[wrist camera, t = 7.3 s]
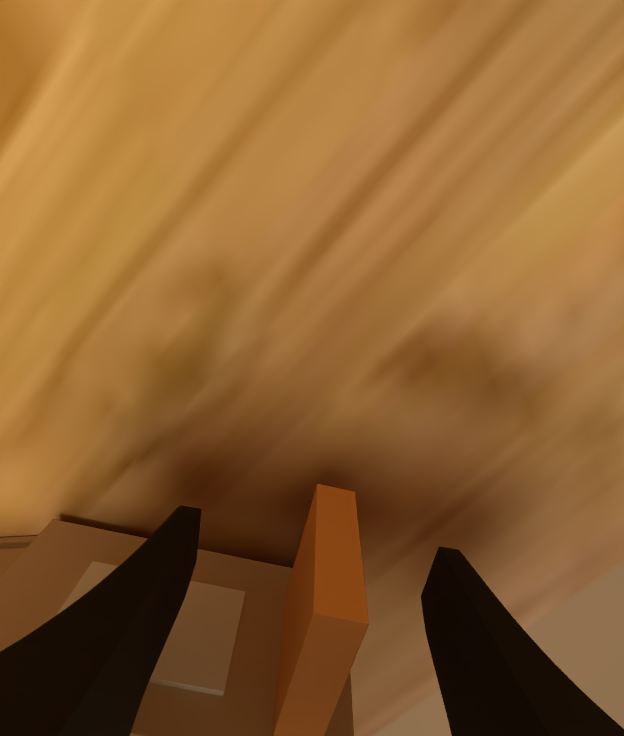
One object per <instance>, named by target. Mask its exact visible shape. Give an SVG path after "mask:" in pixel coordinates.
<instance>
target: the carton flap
mask: <svg viewBox="0 0 624 736" xmlns="http://www.w3.org/2000/svg"><path fill="white" fill-rule="evenodd" d="M146 540H147V538H142V537H137V536H133V535H128V534H123V533H118V532H113V531H108V530H103V529H98V528H94V527H89V526H84V525H79V524H74V523H69V522H64V521H59V520H54V519H53V520H52V521H51V522H50V523H49V524H48V525H47V526H46V527H45V529H44V530H43V531H42V532H41V533H40V534H39V535H38V536H37V538H36V539H35V540H34V541H33V542H32V543H31V544H30V545H29V547H28V548H27V549H26V550H25V551H24V552H23V553H22V554H21V555H20V557H19V558H18V559H17V560H16V561H15V562H14V563H13V564H12V566H11V567H10V568H9V569H8V570H7V571H6V572H5V573H4V574H3V576H2V577H1V578H0V651H2V650H4V649H5V648H7V647H9V646H10V645H12V644H14V643H15V642H17V641H19V640H20V639H22V638H23V637H25V636H26V635H28V634H29V633H31V632H32V631H34V630H35V629H37V628H38V627H40V626H41V625H43V624H44V623H46V622H47V621H49V620H50V619H51V618H53V617H54V616H56V615H57V614H59V613H60V612H62V611H63V610H64V609H66V608H67V607H69V606H70V605H71V604H73V603H74V602H75V601H77V600H78V599H79V598H81V597H82V596H83V595H84V594H86V593H87V592H88V591H90V590H91V589H92V588H93V587H95V586H96V585H97V584H98V583H99V582H101V581H102V580H103V579H104V578H105V577H107V576H108V575H109V574H110V573H111V572H112V571H113V570H115V569H116V568H117V567H118V566H119V565H120V564H122V563H123V562H124V561H125V560H126V559H127V558H128V557H129V556H130V555H132V554H133V553H134V552H135V551H136V550H137V549H138V548H139V547H140V546H141V545H142V544H143V543H144V542H145V541H146ZM368 625H369V621H368V612H367V602H366V593H365V583H364V574H363V564H362V555H361V545H360V536H359V526H358V517H357V507H356V498H355V492H354V491H349V490H345V489H340V488H335V487H331V486H326V485H321V484H317V487H316V490H315V494H314V497H313V501H312V504H311V507H310V511H309V514H308V518H307V521H306V525H305V528H304V532H303V535H302V539H301V542H300V546H299V549H298V552H297V556H296V559H295V563H294V566H293V568H289V567H284V566H279V565H274V564H269V563H264V562H259V561H255V560H250V559H245V558H240V557H235V556H230V555H225V554H220V553H216V552H211V551H206V550H201V549H198V551H197V561H196V565H195V568H194V571H193V574H192V578H191V581H190V584H189V587H188V590H187V593H186V596H185V599H184V601H183V604H182V606H181V608H180V611H179V613H178V615H177V618H176V620H175V622H174V625H173V627H172V629H171V632H170V634H169V636H168V638H167V641H166V643H165V645H164V648H163V650H162V652H161V655H160V657H159V659H158V662H157V664H156V666H155V668H154V671H153V673H152V675H151V678H150V680H149V683H148V685H147V688H146V690H145V693H144V695H143V698H142V701H141V704H140V707H139V710H138V713H137V716H136V718H135V721H134V724H133V727H132V730H131V733H130V736H354V731H353V713H352V694H351V676H350V670H351V667H352V665H353V662H354V660H355V657H356V655H357V652H358V650H359V647H360V645H361V642H362V640H363V637H364V635H365V632H366V630H367V628H368Z"/></svg>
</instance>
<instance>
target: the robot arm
mask: <svg viewBox="0 0 624 736" xmlns="http://www.w3.org/2000/svg"><path fill="white" fill-rule="evenodd" d="M200 518H201V509H199V508H193V507H187V506H179V507H178V508H177V509H176V510H175V511H174V512H173V513H172V514H171V515H170V516H169V517H168V519H167V520H166V521H165V522H164V523H163V524H162V525H161V526H160V527H159V528H158V529H157V530H156V531H155V532H154V533H153V534H152V535H151V536H150V537H149V538H148V539H147V540H146V541H145V542H144V543H143V544H142V545H141V546H140V547H139V548H138V549H137V550H136V551H135V552H134V553H133V554H132V555H130V556H129V557H128V558H127V559H126V560H125V561H124V562H123V563H122V564H120V565H119V566H118V567H117V568H116V569H115V570H113V571H112V572H111V573H110V574H109V575H108V576H107V577H105V578H104V579H103V580H102V581H101V582H99V583H98V584H97V585H96V586H95V587H93V588H92V589H91V590H90V591H88V592H87V593H86V594H84V595H83V596H82V597H81V598H79V599H78V600H77V601H75V602H74V603H73V604H71V605H70V606H69V607H67V608H66V609H64V610H63V611H62V612H60V613H59V614H57V615H56V616H54V617H53V618H51V619H50V620H49V621H47V622H46V623H44V624H43V625H41V626H40V627H38V628H37V629H35V630H34V631H32V632H31V633H29V634H28V635H26V636H25V637H23V638H22V639H20V640H19V641H17V642H15V643H14V644H12V645H10V646H9V647H7V648H5V649H4V650H2V651H0V736H130V733H131V730H132V727H133V724H134V721H135V718H136V716H137V713H138V710H139V707H140V704H141V701H142V698H143V695H144V693H145V690H146V688H147V685H148V683H149V680H150V678H151V675H152V673H153V671H154V668H155V666H156V664H157V662H158V659H159V657H160V655H161V652H162V650H163V648H164V645H165V643H166V641H167V638H168V636H169V634H170V632H171V629H172V627H173V625H174V622H175V620H176V618H177V615H178V613H179V611H180V608H181V606H182V604H183V601H184V599H185V596H186V593H187V590H188V587H189V584H190V581H191V578H192V574H193V571H194V568H195V565H196V561H197V551H198V540H199V529H200ZM421 600H422V608H423V616H424V623H425V629H426V635H427V639H428V643H429V647H430V651H431V655H432V659H433V663H434V667H435V671H436V675H437V678H438V682H439V686H440V690H441V694H442V697H443V702H444V705H445V709H446V713H447V717H448V721H449V725H450V730H451V734H452V736H624V729H623V728H622V727H621V726H620V725H618V724H617V723H616V722H615V721H614V720H613V719H612V718H611V717H609V716H608V715H607V714H606V713H605V712H604V711H603V710H602V709H601V708H600V707H598V706H597V705H596V704H595V703H594V702H593V701H592V700H591V699H590V698H589V697H587V695H586V694H584V693H583V692H582V691H581V690H580V689H579V688H578V687H577V686H576V685H575V684H574V683H573V682H572V681H571V680H570V679H569V678H568V677H567V676H566V675H565V674H564V673H563V672H562V671H561V670H560V669H559V668H558V667H557V666H556V665H555V664H554V663H553V662H552V660H551V659H550V658H549V657H548V656H547V655H546V654H545V653H544V652H543V651H542V650H541V649H540V648H539V646H538V645H537V644H536V643H535V642H534V641H533V640H532V639H531V638H530V636H529V635H528V634H527V633H526V632H525V631H524V630H523V629H522V627H521V626H520V625H519V624H518V623H517V622H516V620H515V619H514V618H513V617H512V616H511V614H510V613H509V612H508V611H507V610H506V608H505V607H504V606H503V605H502V603H501V602H500V601H499V600H498V599H497V597H496V596H495V595H494V594H493V592H492V591H491V590H490V589H489V587H488V586H487V585H486V584H485V582H484V581H483V580H482V578H481V577H480V576H479V575H478V573H477V572H476V571H475V570H474V568H473V567H472V566H471V564H470V563H469V562H468V561H467V559H466V558H465V557H464V556H463V554H462V553H461V552H460V551H459V550H457V549H451V548H444V547H439V548H438V551H437V553H436V556H435V559H434V562H433V564H432V567H431V570H430V573H429V575H428V578H427V581H426V584H425V587H424V589H423V592H422V595H421Z"/></svg>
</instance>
